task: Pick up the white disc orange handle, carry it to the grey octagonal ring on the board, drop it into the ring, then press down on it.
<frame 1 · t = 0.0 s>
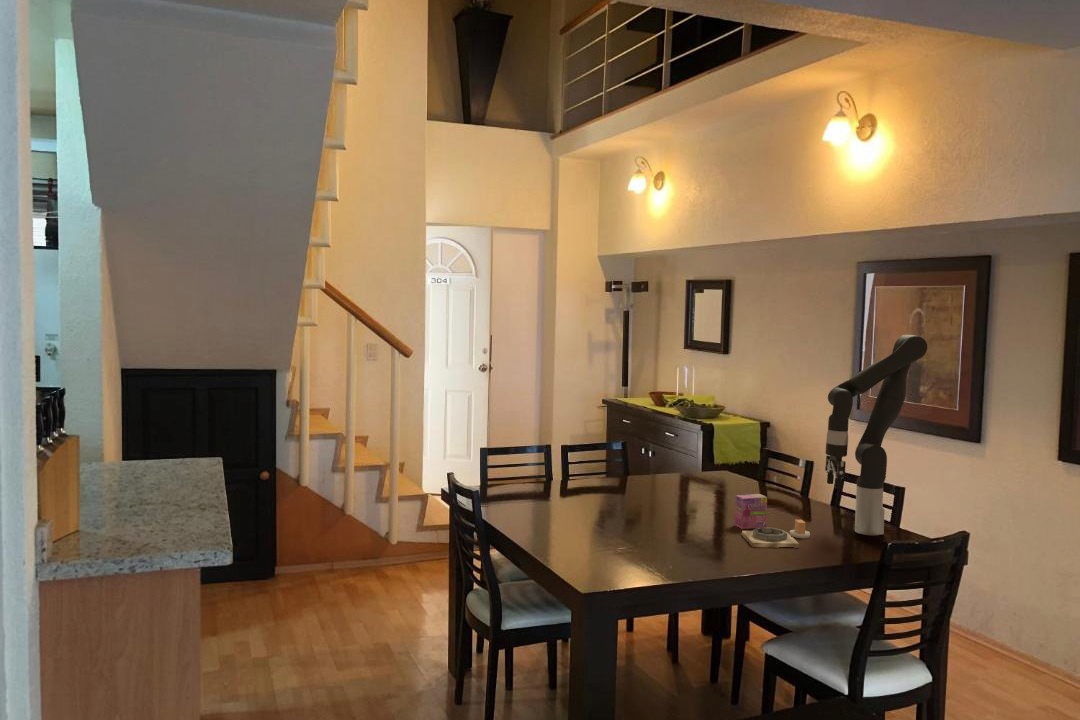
hand: (833, 486, 317), 17 cm above the table, tool pointing down, fingers open, 8 cm apart
board: (769, 541, 304), on the table
grey octagonal ring: (769, 534, 304), on the board, point 2 cm above the table
box: (750, 527, 324), on the table
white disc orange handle: (799, 536, 312), on the table
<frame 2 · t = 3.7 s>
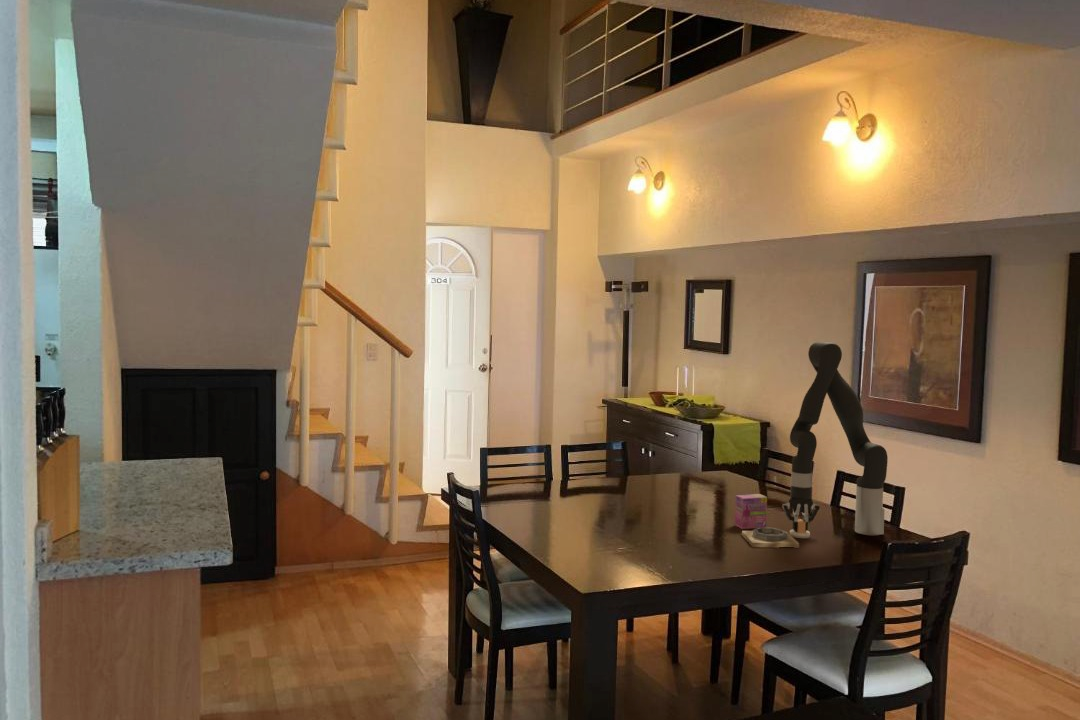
hand: (799, 531, 312), 2 cm above the table, tool pointing down, fingers closed on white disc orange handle, 2 cm apart
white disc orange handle: (799, 535, 312), on the table, touching gripper
everything else where it was.
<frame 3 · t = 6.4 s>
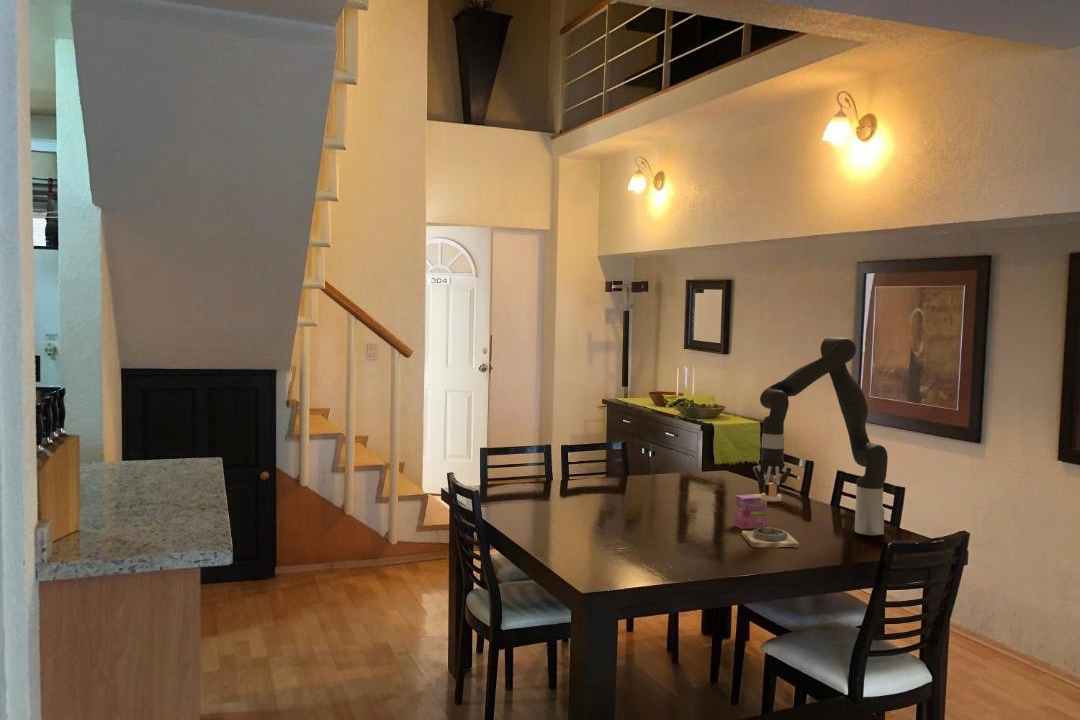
hand: (771, 494, 303), 17 cm above the table, tool pointing down, fingers closed on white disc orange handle, 2 cm apart
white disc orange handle: (771, 499, 303), point 15 cm above the table, touching gripper
everything else where it was.
when the fingers open (4 cm above the table, at t = 9.2 s): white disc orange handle stays where it is, resting on board.
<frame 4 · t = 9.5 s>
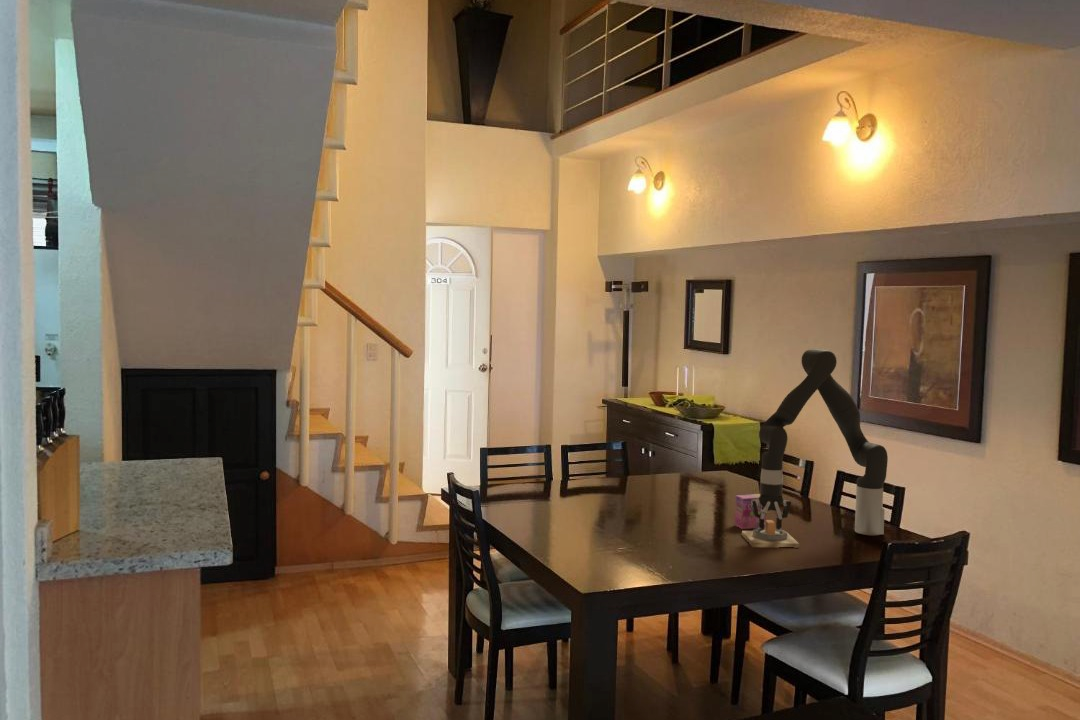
hand: (770, 528, 304), 4 cm above the table, tool pointing down, fingers open, 5 cm apart
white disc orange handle: (769, 536, 304), point 2 cm above the table, touching board
everything else where it was.
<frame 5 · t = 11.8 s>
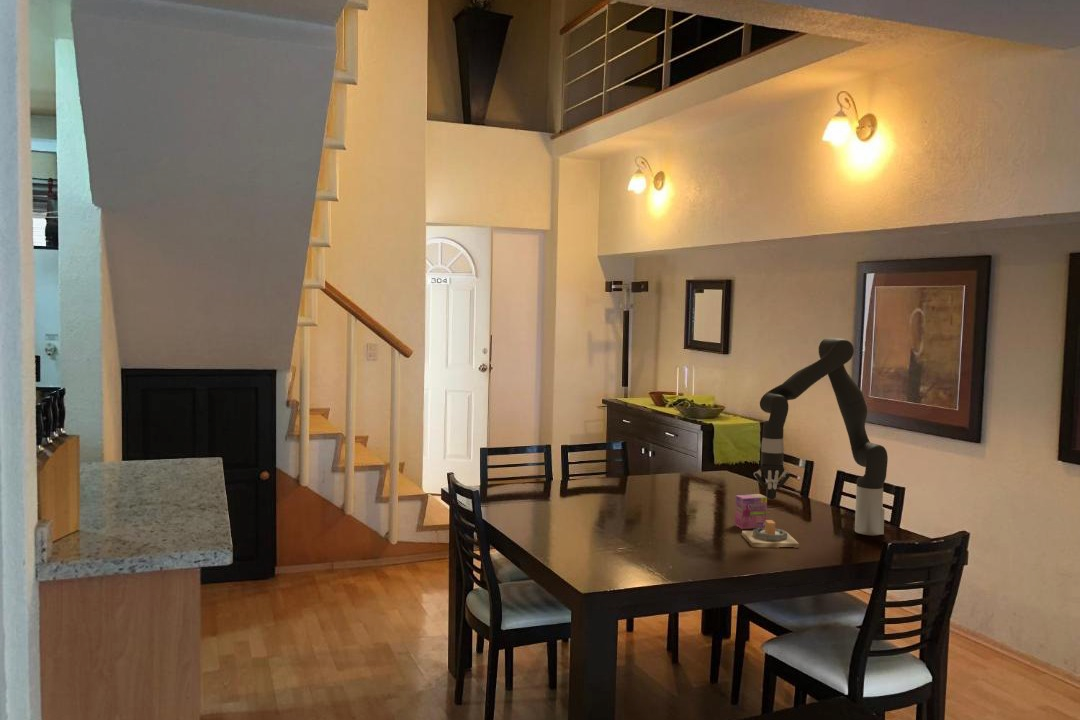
hand: (770, 499, 303), 15 cm above the table, tool pointing down, fingers closed
nothing on the table moved.
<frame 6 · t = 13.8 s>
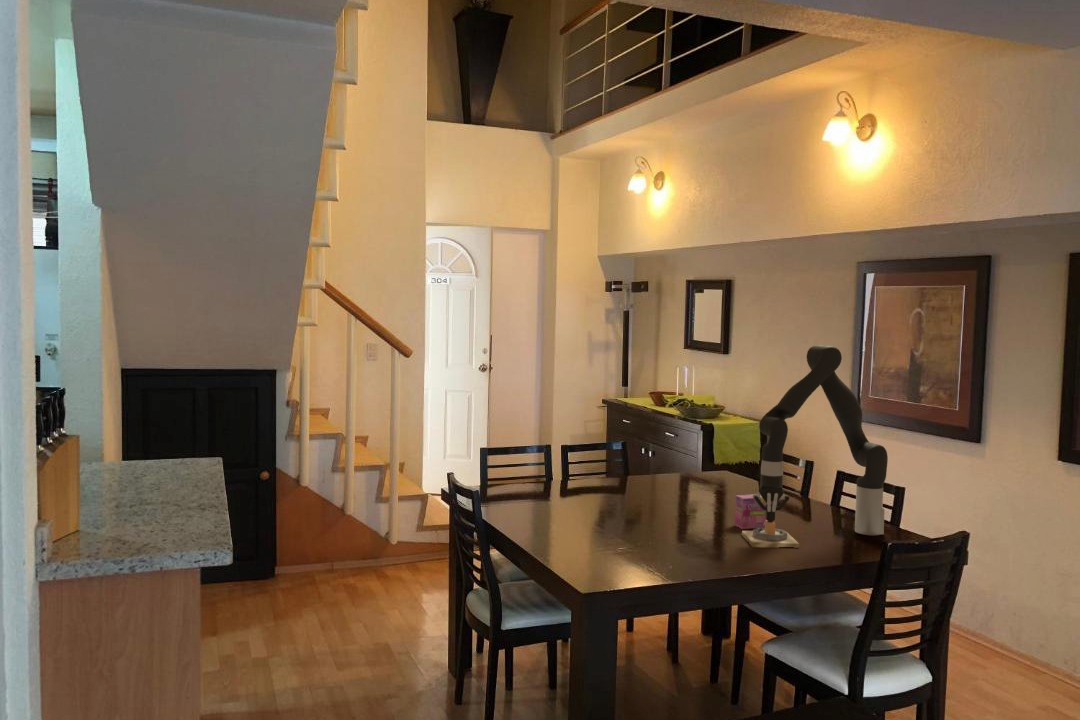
hand: (770, 521, 304), 7 cm above the table, tool pointing down, fingers closed
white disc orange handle: (769, 536, 304), point 1 cm above the table, touching board, gripper
everything else where it was.
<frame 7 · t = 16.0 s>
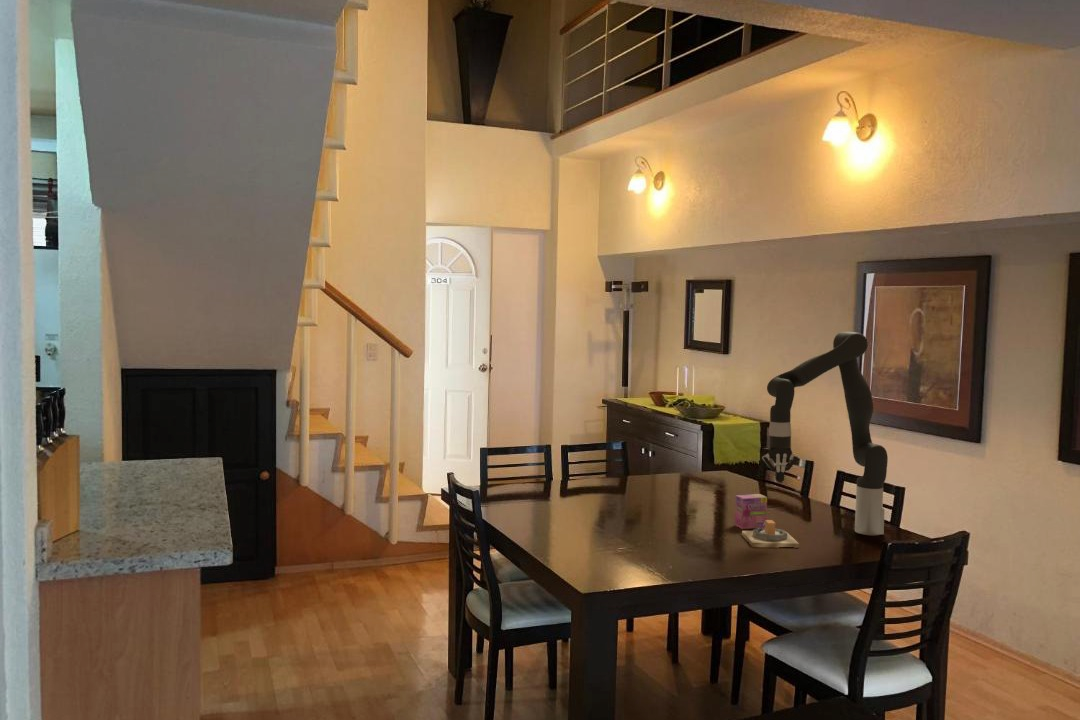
hand: (779, 482, 308), 20 cm above the table, tool pointing down, fingers closed
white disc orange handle: (769, 536, 304), point 1 cm above the table, touching board
everything else where it was.
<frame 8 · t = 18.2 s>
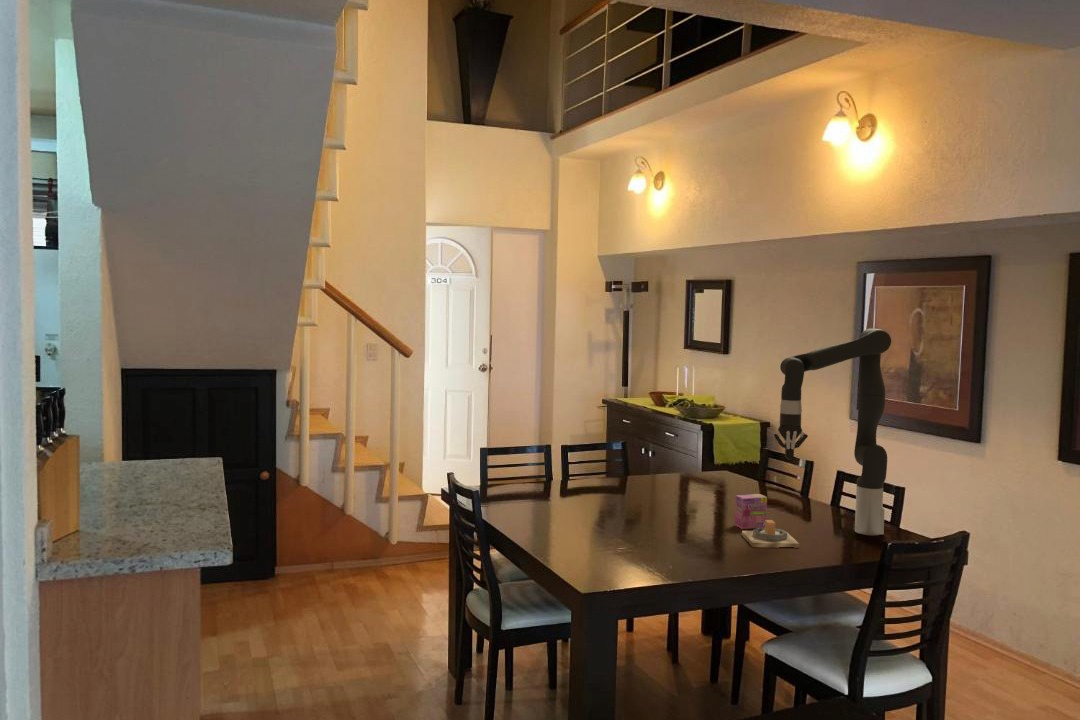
hand: (789, 458, 317), 27 cm above the table, tool pointing down, fingers closed
nothing on the table moved.
at the end: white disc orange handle 0.0 cm off-centre on the board, point 1.5 cm above the board's base; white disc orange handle tilted 0°; the gripper is holding nothing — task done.
